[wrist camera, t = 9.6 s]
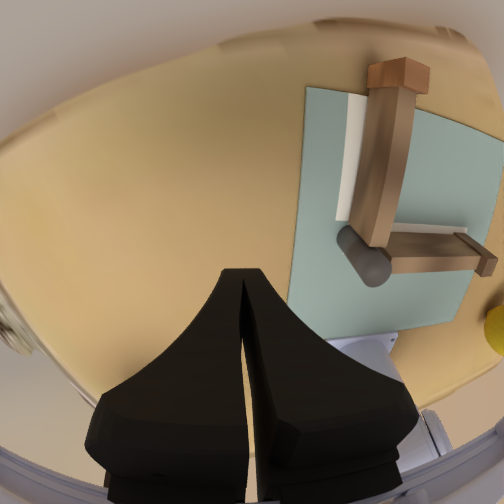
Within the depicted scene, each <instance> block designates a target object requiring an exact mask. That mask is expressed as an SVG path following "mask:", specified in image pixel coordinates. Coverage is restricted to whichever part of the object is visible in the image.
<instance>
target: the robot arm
mask: <svg viewBox="0 0 504 504" xmlns="http://www.w3.org/2000/svg"><path fill="white" fill-rule="evenodd" d="M397 337H398V332H397V331H392V332H385V333H377V334H369V335H360V336H351V337H341V338H330V339H326V340H324V339H323V338H321V337H320V336H319V335H317V334H316V333H315V332H314V331H313V330H312V329H310V328H309V327H308V326H307V325H306V324H305V323H304V322H303V321H302V320H301V319H300V318H299V317H298V316H297V315H296V314H295V313H294V312H293V311H292V310H291V309H290V308H289V306H288V305H287V304H286V303H285V302H284V301H283V299H282V298H281V297H280V296H279V295H278V293H277V292H276V291H275V289H274V288H273V287H272V285H271V284H270V282H269V281H268V280H267V278H266V276H265V275H264V273H263V272H262V270H261V269H260V268H234V269H224V270H222V271H221V275H220V277H219V280H218V282H217V284H216V286H215V288H214V289H213V291H212V293H211V294H210V296H209V298H208V299H207V301H206V303H205V304H204V306H203V307H202V308H201V310H200V311H199V313H198V314H197V315H196V317H195V318H194V319H193V321H192V322H191V323H190V324H189V326H188V327H187V328H186V329H185V330H184V331H183V333H182V334H181V335H180V336H179V337H178V338H177V339H176V340H175V341H174V342H173V343H172V344H171V345H170V346H169V347H168V348H167V349H166V350H165V351H164V352H163V353H161V354H160V355H159V356H158V357H157V358H156V359H154V360H153V361H152V362H151V363H149V364H148V365H147V366H145V367H144V368H143V369H142V370H140V371H139V372H138V373H136V374H135V375H134V376H132V377H131V378H129V379H127V380H126V381H124V382H123V383H121V384H119V385H118V386H116V387H114V388H113V389H111V390H109V391H107V392H106V393H104V394H102V396H101V398H100V400H99V402H98V404H97V406H96V408H95V411H94V413H93V416H92V419H91V422H90V426H89V429H88V433H87V436H86V440H85V444H84V445H85V449H86V451H87V452H88V454H89V455H90V456H91V457H92V458H93V459H94V460H95V461H96V462H97V463H98V464H100V465H101V466H102V467H103V468H104V469H106V471H108V472H109V473H110V474H111V476H110V482H109V488H105V487H101V486H97V485H94V484H91V483H87V482H84V481H81V480H78V479H75V478H72V477H69V476H66V475H63V474H61V473H58V472H55V471H53V470H50V469H48V468H45V467H43V466H40V465H38V464H36V463H34V462H31V461H29V460H27V459H25V458H23V457H21V456H19V455H17V454H15V453H13V452H11V451H9V450H7V449H5V448H3V447H1V446H0V504H497V503H498V502H499V501H500V500H501V499H502V498H503V497H504V417H503V418H502V419H501V420H500V421H499V422H498V423H497V424H496V425H495V427H493V428H491V429H490V430H488V431H487V432H485V433H483V434H482V435H480V436H478V437H477V438H475V439H473V440H472V441H470V442H468V443H466V444H465V445H462V446H460V447H459V448H457V449H455V450H453V449H452V446H451V443H450V441H449V438H448V436H447V434H446V431H445V429H444V427H443V425H442V423H441V421H440V420H439V417H438V415H437V414H436V412H435V411H432V410H428V409H425V410H423V411H422V412H421V413H422V415H423V418H424V420H425V423H424V421H423V419H422V417H421V415H420V413H419V410H418V408H417V406H416V405H415V404H414V402H413V399H412V397H411V395H410V393H409V392H408V390H407V388H406V386H405V384H404V382H403V380H402V378H401V376H400V374H399V372H398V370H397V368H396V366H395V364H394V363H393V361H392V359H391V357H390V355H389V354H390V352H391V350H392V348H393V346H394V343H395V341H396V339H397ZM242 339H243V346H244V352H245V358H246V364H247V370H248V376H249V382H250V389H251V397H252V411H253V427H254V443H255V460H256V478H257V497H258V502H255V503H245V493H246V487H247V477H248V465H249V439H248V425H247V416H246V406H245V396H244V386H243V374H242V362H241V348H242ZM425 424H426V425H425ZM426 426H427V428H426ZM427 429H428V430H427ZM428 431H429V432H428ZM438 455H439V456H438Z"/></svg>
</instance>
